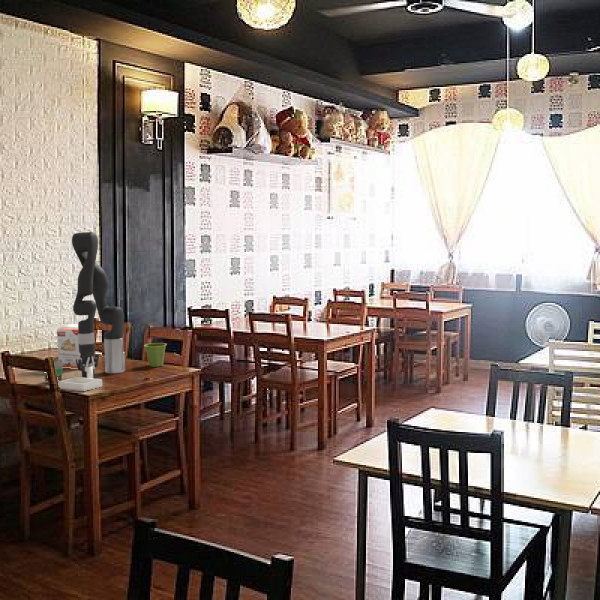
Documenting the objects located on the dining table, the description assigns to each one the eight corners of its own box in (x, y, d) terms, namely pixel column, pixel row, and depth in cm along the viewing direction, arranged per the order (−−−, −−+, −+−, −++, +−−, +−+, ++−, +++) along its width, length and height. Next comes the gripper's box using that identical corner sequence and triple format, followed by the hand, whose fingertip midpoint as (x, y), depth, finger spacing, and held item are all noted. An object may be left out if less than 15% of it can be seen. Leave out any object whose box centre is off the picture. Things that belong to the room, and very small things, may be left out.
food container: (56, 385, 363) (55, 363, 362) (44, 384, 364) (42, 363, 363) (68, 379, 375) (68, 359, 374) (57, 379, 376) (56, 359, 375)
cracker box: (58, 368, 405) (56, 328, 403) (65, 366, 411) (63, 327, 409) (80, 370, 400) (78, 329, 398) (87, 367, 406) (85, 328, 404)
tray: (75, 384, 364) (75, 376, 364) (102, 386, 357) (102, 379, 357) (57, 389, 353) (56, 381, 353) (84, 392, 346) (83, 384, 346)
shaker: (88, 379, 372) (87, 362, 371) (95, 380, 370) (94, 363, 369) (81, 381, 368) (80, 364, 367) (88, 382, 366) (88, 365, 365)
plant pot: (141, 365, 411) (140, 344, 409) (163, 363, 416) (162, 342, 415) (148, 368, 400) (148, 347, 399) (170, 366, 406) (169, 345, 405)
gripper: (90, 339, 375) (92, 374, 377) (69, 344, 362) (71, 380, 364) (103, 340, 371) (104, 375, 373) (82, 345, 359) (84, 381, 360)
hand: (88, 377), depth 368 cm, fingers closed on shaker, 4 cm apart
